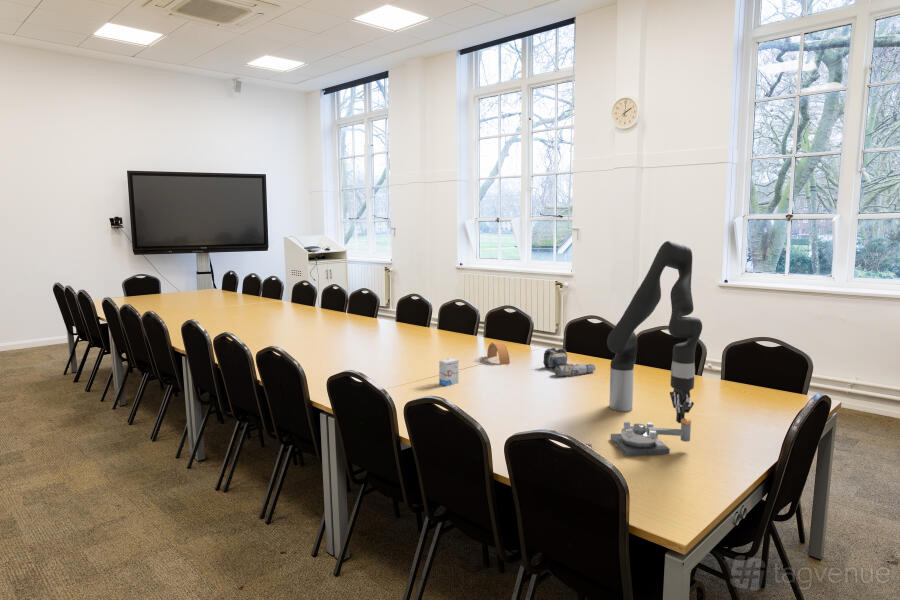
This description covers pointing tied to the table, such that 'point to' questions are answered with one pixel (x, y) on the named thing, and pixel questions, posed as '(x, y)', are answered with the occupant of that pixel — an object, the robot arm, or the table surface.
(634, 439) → the orange knob lever
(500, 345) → the arch
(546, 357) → the power drill
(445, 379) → the ink box
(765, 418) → the table surface
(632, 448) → the base plate
